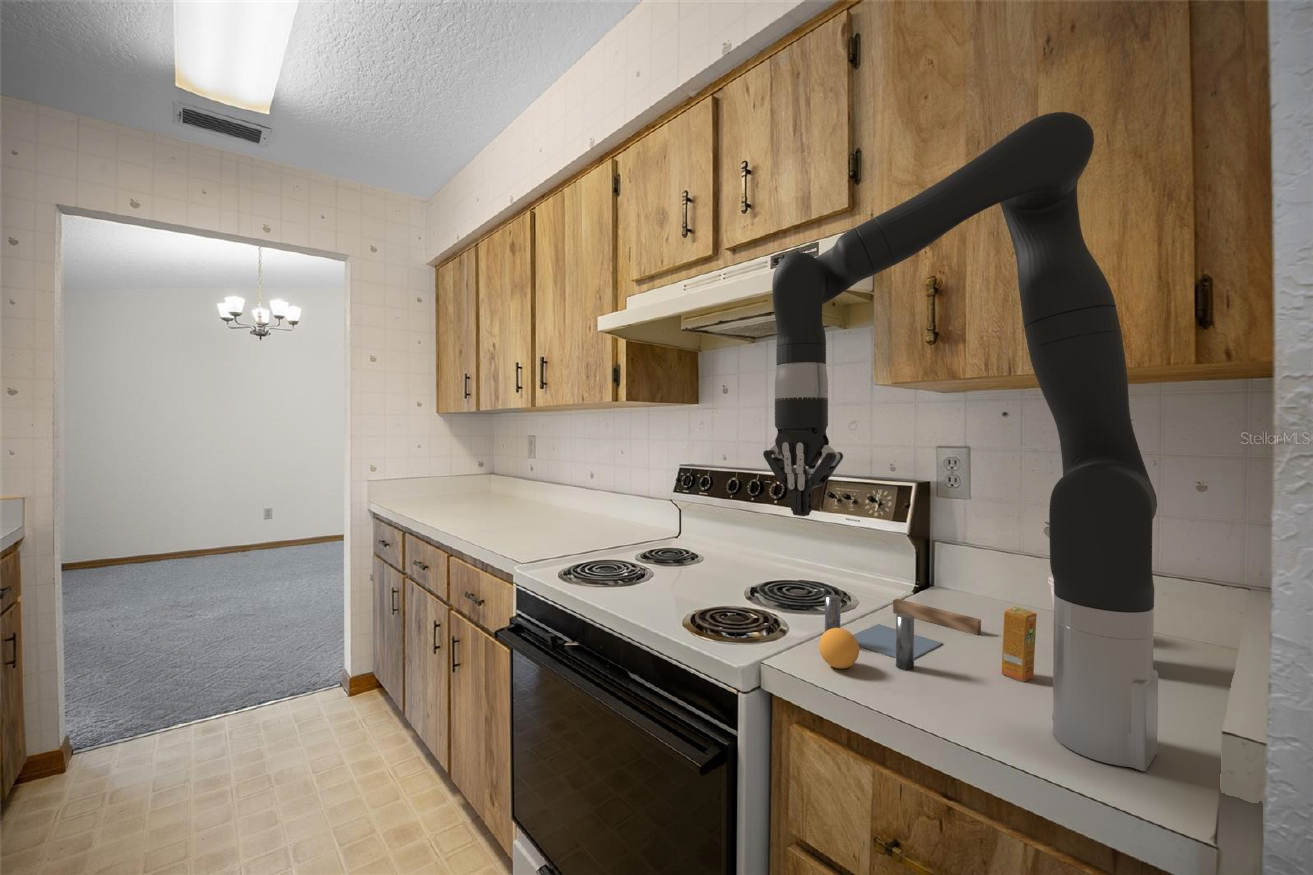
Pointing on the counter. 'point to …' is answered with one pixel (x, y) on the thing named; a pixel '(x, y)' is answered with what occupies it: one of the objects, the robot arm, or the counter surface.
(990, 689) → the counter surface
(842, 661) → the ball
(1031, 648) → the supplement box
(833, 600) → the post outer
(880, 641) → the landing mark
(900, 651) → the post inner
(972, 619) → the wall
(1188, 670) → the counter surface
